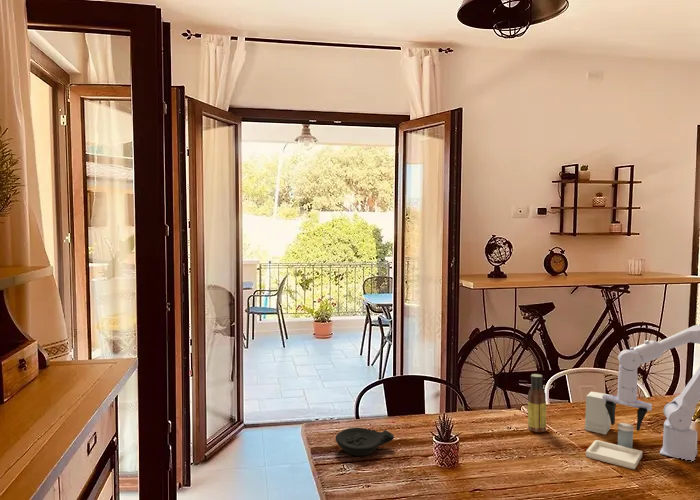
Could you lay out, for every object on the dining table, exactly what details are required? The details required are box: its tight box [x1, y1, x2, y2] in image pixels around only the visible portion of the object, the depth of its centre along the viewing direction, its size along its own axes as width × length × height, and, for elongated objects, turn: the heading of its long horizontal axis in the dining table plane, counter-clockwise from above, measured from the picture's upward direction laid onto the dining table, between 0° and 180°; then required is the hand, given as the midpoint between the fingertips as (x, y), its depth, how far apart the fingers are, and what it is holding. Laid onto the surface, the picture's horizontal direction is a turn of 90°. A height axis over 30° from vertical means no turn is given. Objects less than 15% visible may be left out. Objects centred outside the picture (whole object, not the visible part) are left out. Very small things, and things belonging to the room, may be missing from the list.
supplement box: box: [584, 391, 613, 435], centre depth 195 cm, size 7×7×13 cm
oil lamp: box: [335, 427, 395, 457], centre depth 174 cm, size 15×20×5 cm
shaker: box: [617, 422, 635, 449], centre depth 180 cm, size 5×5×7 cm
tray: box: [585, 439, 643, 470], centre depth 172 cm, size 14×12×2 cm
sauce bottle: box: [527, 373, 547, 433], centre depth 193 cm, size 6×6×20 cm
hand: (625, 426), depth 180 cm, fingers open, 7 cm apart
